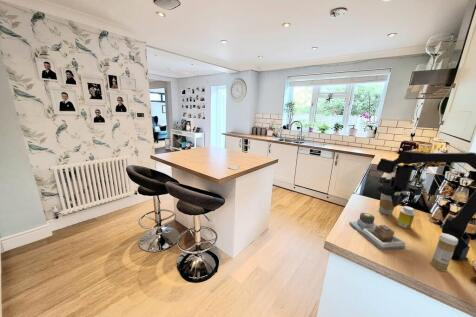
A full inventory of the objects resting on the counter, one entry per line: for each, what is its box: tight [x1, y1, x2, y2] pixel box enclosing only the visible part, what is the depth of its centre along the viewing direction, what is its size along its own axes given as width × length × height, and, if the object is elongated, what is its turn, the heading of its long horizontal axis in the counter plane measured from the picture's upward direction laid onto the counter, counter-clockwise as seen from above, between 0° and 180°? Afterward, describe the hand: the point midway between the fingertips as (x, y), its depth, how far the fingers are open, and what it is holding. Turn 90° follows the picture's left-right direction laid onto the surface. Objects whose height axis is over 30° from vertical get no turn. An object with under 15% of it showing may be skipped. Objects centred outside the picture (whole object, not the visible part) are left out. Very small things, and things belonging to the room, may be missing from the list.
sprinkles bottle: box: [430, 232, 458, 272], centre depth 71 cm, size 5×5×13 cm
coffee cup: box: [378, 186, 396, 216], centre depth 111 cm, size 8×8×15 cm
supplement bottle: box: [396, 205, 416, 229], centre depth 99 cm, size 6×6×10 cm
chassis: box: [348, 217, 406, 251], centre depth 90 cm, size 19×12×4 cm, turn 8°
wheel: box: [359, 212, 375, 223], centre depth 95 cm, size 6×6×2 cm
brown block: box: [374, 224, 395, 242], centre depth 86 cm, size 5×4×6 cm
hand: (394, 206), depth 94 cm, fingers closed
